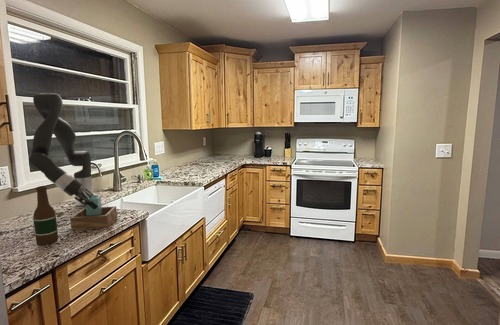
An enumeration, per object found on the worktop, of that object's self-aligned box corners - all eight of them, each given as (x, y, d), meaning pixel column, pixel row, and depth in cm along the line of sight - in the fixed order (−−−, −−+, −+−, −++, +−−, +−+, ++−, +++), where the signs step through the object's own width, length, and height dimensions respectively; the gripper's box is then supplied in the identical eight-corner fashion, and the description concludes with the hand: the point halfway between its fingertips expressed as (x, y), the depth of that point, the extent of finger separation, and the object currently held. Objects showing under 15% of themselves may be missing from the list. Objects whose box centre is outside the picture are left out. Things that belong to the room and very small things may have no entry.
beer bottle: (62, 238, 126) (56, 184, 123) (51, 245, 119) (44, 188, 115) (44, 238, 126) (38, 184, 123) (31, 246, 118) (24, 189, 115)
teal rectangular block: (89, 213, 146) (88, 196, 145) (102, 212, 148) (100, 195, 146) (86, 216, 141) (85, 198, 140) (99, 215, 142) (97, 198, 141)
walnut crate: (84, 219, 151) (83, 208, 151) (116, 217, 154) (116, 206, 153) (71, 230, 136) (70, 218, 135) (107, 227, 138) (106, 215, 138)
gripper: (69, 181, 133) (99, 204, 138) (78, 176, 147) (106, 197, 151) (57, 193, 132) (88, 216, 137) (68, 187, 146) (96, 208, 151)
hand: (97, 206), depth 144 cm, fingers closed on teal rectangular block, 5 cm apart
